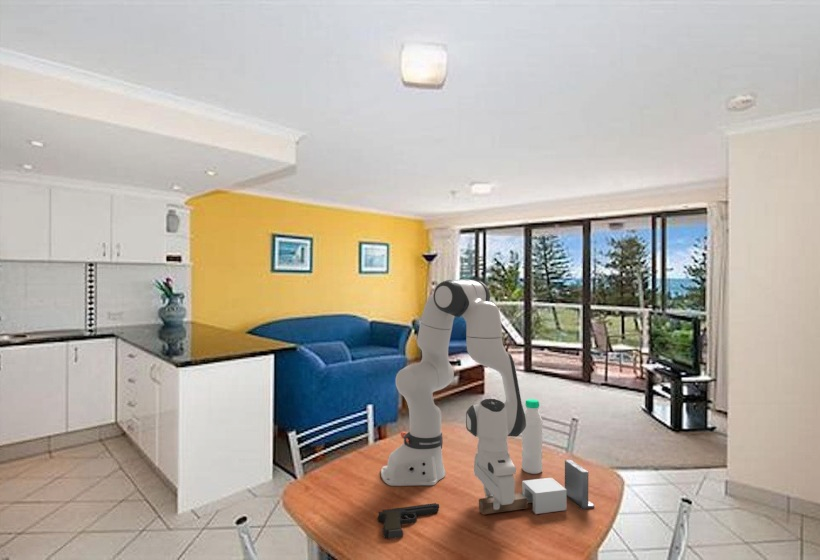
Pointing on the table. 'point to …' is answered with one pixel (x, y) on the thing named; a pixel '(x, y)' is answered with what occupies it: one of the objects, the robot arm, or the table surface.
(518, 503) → the walnut bar
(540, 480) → the tunnel block
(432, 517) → the table surface
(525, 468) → the water bottle
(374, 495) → the table surface
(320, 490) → the table surface
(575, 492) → the wall
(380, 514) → the handgun
